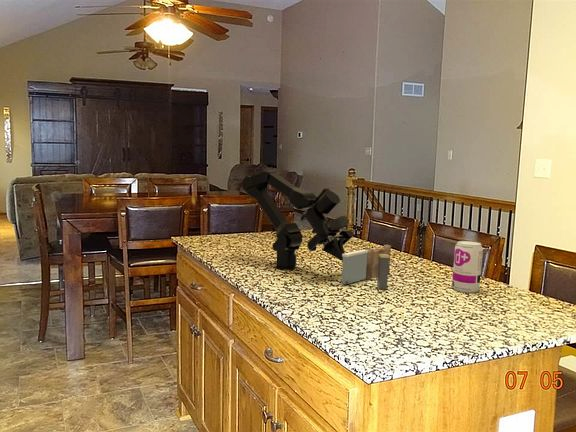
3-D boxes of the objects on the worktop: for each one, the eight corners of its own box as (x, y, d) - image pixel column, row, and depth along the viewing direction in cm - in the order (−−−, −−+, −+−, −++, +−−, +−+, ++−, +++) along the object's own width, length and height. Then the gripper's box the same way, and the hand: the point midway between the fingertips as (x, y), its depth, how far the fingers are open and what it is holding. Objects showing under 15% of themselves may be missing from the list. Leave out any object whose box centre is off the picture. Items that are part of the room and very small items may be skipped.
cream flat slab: (361, 278, 178) (363, 249, 177) (366, 279, 177) (368, 250, 175) (340, 284, 169) (342, 253, 168) (345, 285, 168) (346, 254, 167)
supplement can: (465, 294, 164) (469, 245, 162) (446, 287, 171) (449, 241, 169) (484, 291, 168) (489, 244, 166) (465, 285, 175) (468, 240, 173)
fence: (368, 280, 177) (370, 250, 175) (360, 278, 178) (362, 249, 177) (391, 273, 187) (392, 245, 186) (383, 272, 189) (385, 244, 188)
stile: (376, 287, 168) (378, 253, 167) (385, 287, 168) (387, 254, 167) (378, 289, 165) (380, 255, 164) (387, 289, 166) (389, 255, 164)
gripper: (315, 209, 168) (342, 249, 162) (350, 206, 181) (376, 242, 176) (295, 231, 174) (321, 270, 168) (331, 226, 188) (355, 262, 182)
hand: (344, 260), depth 173 cm, fingers closed
